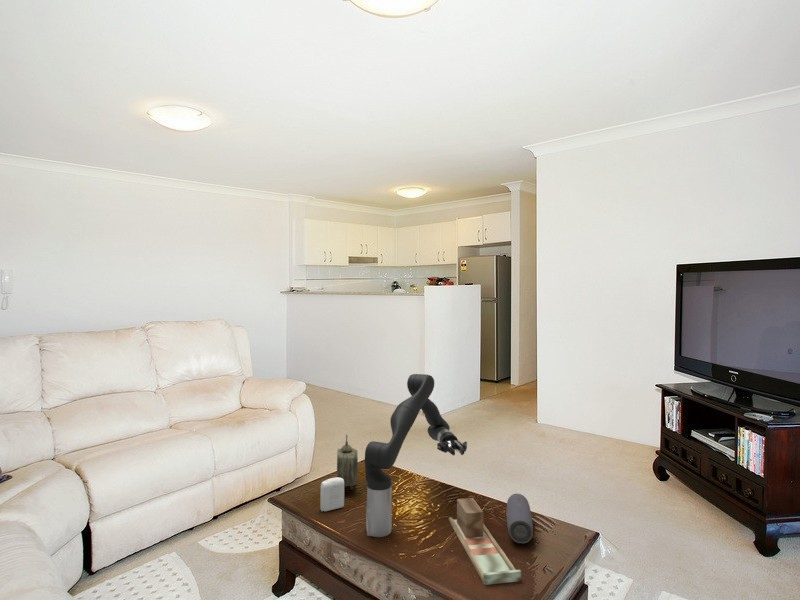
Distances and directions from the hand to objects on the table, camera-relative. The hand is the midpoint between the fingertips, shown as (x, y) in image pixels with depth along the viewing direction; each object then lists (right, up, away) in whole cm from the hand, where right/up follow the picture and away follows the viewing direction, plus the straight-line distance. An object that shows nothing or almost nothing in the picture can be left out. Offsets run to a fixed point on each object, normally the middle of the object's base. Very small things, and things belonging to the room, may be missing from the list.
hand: (458, 452), depth 189 cm
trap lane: (+4, -24, -27) cm, 36 cm away
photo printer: (-52, -24, +3) cm, 58 cm away
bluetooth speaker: (+21, -24, -16) cm, 36 cm away
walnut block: (+2, -24, -15) cm, 28 cm away
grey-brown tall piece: (-48, -24, +21) cm, 57 cm away
